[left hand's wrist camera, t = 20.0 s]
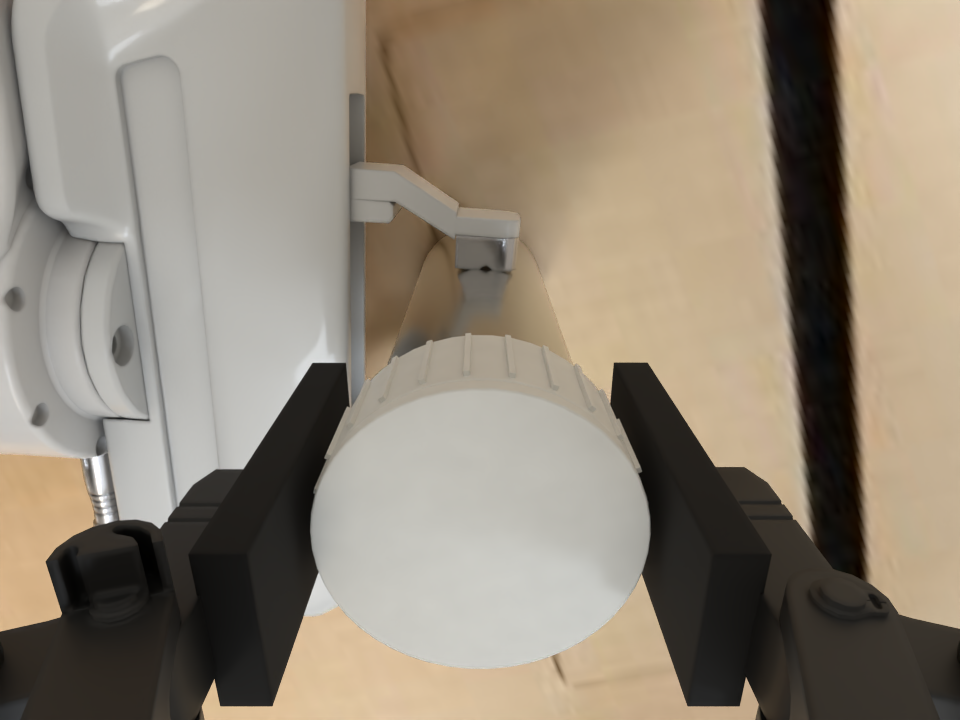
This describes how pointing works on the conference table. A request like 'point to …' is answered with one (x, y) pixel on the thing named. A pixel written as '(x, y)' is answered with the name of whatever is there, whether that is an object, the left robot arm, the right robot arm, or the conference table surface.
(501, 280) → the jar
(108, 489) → the right robot arm
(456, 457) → the lid
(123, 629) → the left robot arm
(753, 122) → the conference table surface
